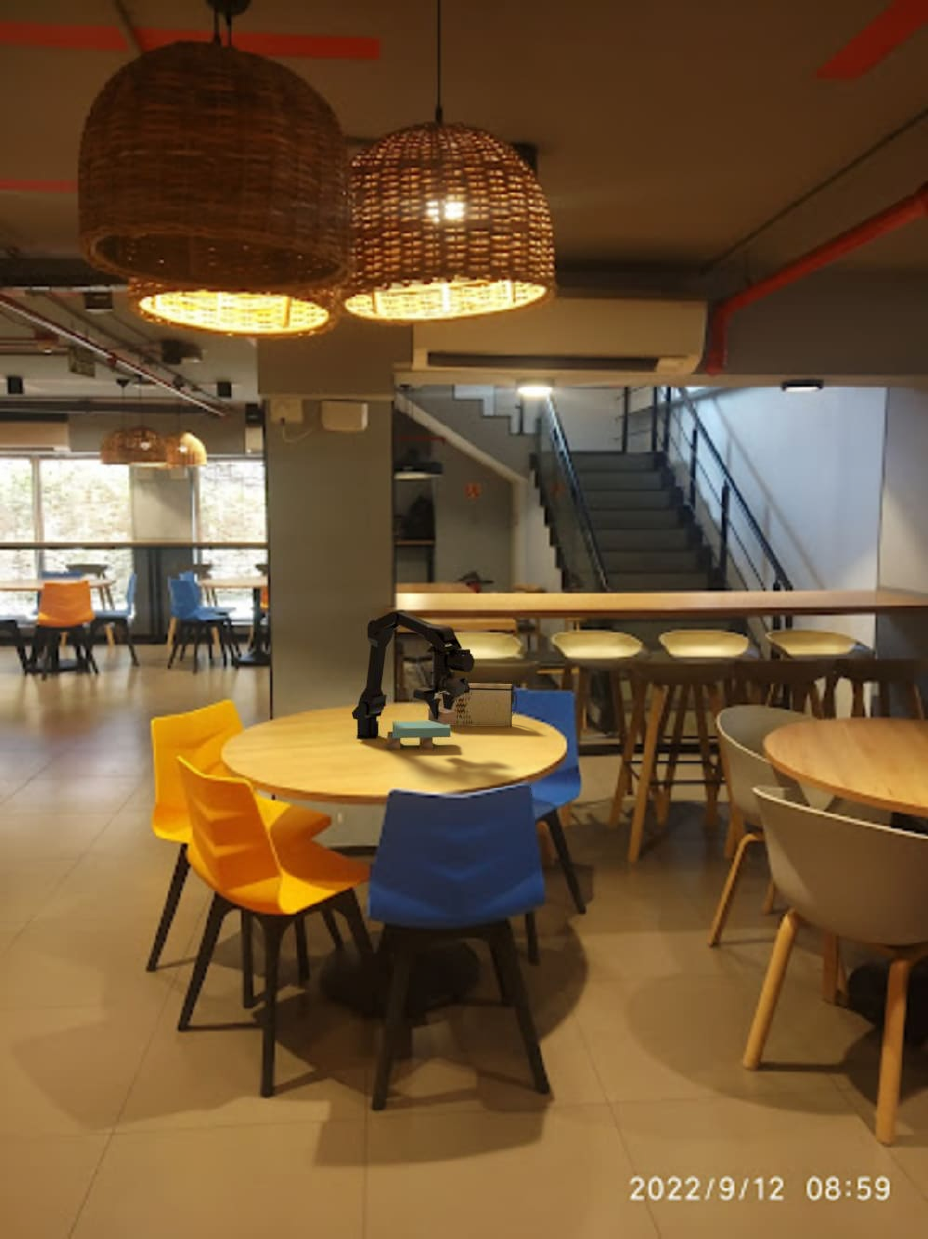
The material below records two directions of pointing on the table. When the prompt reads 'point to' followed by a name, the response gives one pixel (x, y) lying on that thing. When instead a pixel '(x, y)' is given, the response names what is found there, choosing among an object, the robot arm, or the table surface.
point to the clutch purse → (485, 705)
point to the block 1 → (393, 742)
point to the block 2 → (426, 743)
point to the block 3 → (443, 716)
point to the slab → (420, 729)
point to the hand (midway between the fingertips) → (441, 718)
